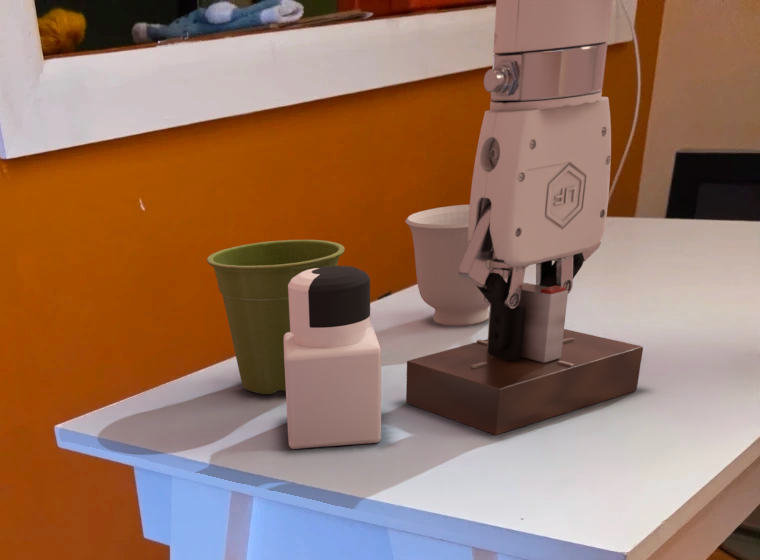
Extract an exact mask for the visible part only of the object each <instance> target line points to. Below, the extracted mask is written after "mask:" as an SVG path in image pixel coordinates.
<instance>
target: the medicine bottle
mask: <svg viewBox="0 0 760 560" xmlns="http://www.w3.org/2000/svg"><path fill="white" fill-rule="evenodd" d="M288 295H289V315H290V332H287V333H286V334H285V335H284V365H285V384H286V391H285V401H286V418H287V419H286V420H287V439H288V440H287V441H288V447H289V448H290V449H291V450H297V449H309V448H311V449H312V448H323V447H324V448H325V447H337V446H349V445H351V446H352V445H363V444H375V443H380V441H381V439H382V349H381V346H380V343H379V340H378V337H377V334H376V332H375V331H376V330H375V328H374V327H373V326H372V325H371V277H370V275H368V273H367V272H366V271H364V270H363V269H360V268H358V267H355V266H350V265H337V266H327V267H319V268H313V269H309V270H306V271H303V272H301V273H300V274H298V275H296V276H295V277H293V278H292V279H291V281H290V282H289V284H288Z"/></svg>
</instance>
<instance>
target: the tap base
mask: <svg viewBox="0 0 760 560" xmlns="http://www.w3.org/2000/svg"><path fill="white" fill-rule="evenodd" d="M487 344H488V338H487V339H483V340H482V339H477V340H476V341H475V342H472V343H468V344H464V345H461V346H457V347H454V348H450V349H446V350H442V351H438V352H435V353H431V354H428V355H424V356H420V357H417V358H412V359H408V360H407V361H406V387H405V390H406V391H405V403H406V404H408V405H411V406H414V407H416V408H420V409H422V410H425V411H428V412H430V413H433V414H436V415H440V416H441V417H443V418H444V417H445V418H446V419H447V418H448V419H449V420H453V421H456V422H459V423H462V424H464V425H466V426H470V427H473V428H475V429H477V430H481V431H483V432H487V433H489V434H492V435H495V436H497V435H500V434H504V433H506V432H510V431H513V430H516V429H519V428H523V427H525V426H528V425H532V424H535V423H538V422H542V421H544V420H545V421H546V420H547V419H548V420H549V419H551V418H553V417H557V416H560V415H564V414H566V413H570V412H573V411H576V410H580V409H582V408H587V407H588V406H592V405H594V404H598V403H601V402H604V401H608V400H611V399H614V398H616V397H620V396H623V395H627V394H630V393H633V392H636V391H637V389H638V385H639V384H638V383H639V377H640V371H641V365H642V359H643V358H642V357H643V353H644V352H643V351H644V346H642V345H637V344H634V343H629V342H625V341H620V340H615V339H611V338H607V337H602V336H598V335H593V334H588V333H584V332H579V331H576V330H571V329H566V328H564V334H563V343H562V352H561V358H559V359H556V360H552V361H549V362H545V363H543V362H539V361H535V360H531V359H528V358H524V357H520V359H518V360H514V361H511V360H507V359H503V358H500V357H496V356H492V355H490V354H489V352H488V348H487Z"/></svg>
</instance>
